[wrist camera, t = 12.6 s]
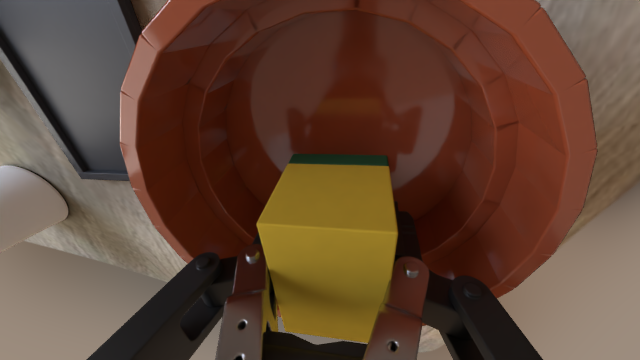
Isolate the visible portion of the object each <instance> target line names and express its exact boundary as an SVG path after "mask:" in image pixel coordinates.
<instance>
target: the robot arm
mask: <svg viewBox="0 0 640 360" xmlns="http://www.w3.org/2000/svg"><path fill="white" fill-rule="evenodd" d="M394 206H395V213H396V220H397V228H398V238H397V245H396V252H395V258H394V265H393V271H392V278H391V280H389V283H388V286H387V289H386V293H385V296H384V299H383V302H382V303H381V304H380V307H379V310H378V313H377V316H376V319H375V322H374V326H373V329H372V332H371V335H370V338H369V342H368V344H360V343H353V342H345V341H341V342H334V343H327V344H320V345H315V344H312V343H310V342H308V341H306V340H303V339H301V338H299V337H297V336H295V335H293V334H289V333H282V332H278V322H277V321H278V319H277V318H278V317H277V298H276V295H275V291H274V287H273V284H272V280H271V276H270V272H269V269H268V265H267V261H266V258H265V254H264V250H263V247H262V243H261V239H260V235H259V232H258V233H257V235H256V237H255V239H254V241H253V243H252V245H249V246H247V247H245V248H244V249H242V250H241V251H240V253H239V254H238V255H237V256H234V257H229V258H223V259H220V258H219V256H218V255H217V254H216V253H213V252H206V253H202V254H200V255H198V256H196V257H195V258H194V259H193V260H192V261H190V262H189V263H188V264H187V265H186V266H185V267H184V268H183V269H182V270H181V271H180V272H179V273H178V274H177V275H176V276H175V277H174V278H172V279H171V280H170V281H169V282H168V283H167V284H166V285H165V286H164V287H163V288H162V289H161V290H160V291H159V292H158V293H157V294H156V295H154V297H152V298H151V299H150V300H149V301H148V302H147V303H146V304H145V305H144V306H143V307H142V308H141V309H140V310H139V311H138V312H136V313H135V315H133V316H132V317H131V318H130V319H129V320H128V321H127V322H126V323H125V324H124V325H123V326H122V327H121V328H120V329H119V330H117V331H116V332H115V333H114V334H113V335H112V336H111V337H110V338H109V339H108V340H107V341H106V342H105V343H104V344H103V345H102V346H100V347H99V348H98V349H97V351H95V352H94V353H93V354H92V355H91V356H90V357H89V358H88V359H87V360H189V359H190V358H191V356H192V355H193V353H194V352H195V351H196V350H197V349H198V347H199V346H200V345H201V343H202V342H203V340H204V339H205V338H206V337H207V336H208V334H209V333H210V332H211V330H212V329H213V328H214V326H215V325H216V324H217V322H218V321H219V320H220V319H221V317H222V316H223V317H222V323H221V329H220V335H219V341H218V346H217V353H216V358H215V360H417V354H418V348H419V342H420V335H421V329H422V323H424V324H426V325H429V326H431V327H433V328H435V329H438V330H439V332H440V334H441V336H442V338H443V340H444V342H445V344H446V346H447V348H448V350H449V352H450V354H451V356H452V358H453V360H543V359H542V358H541V357H540V355H539V354H538V352H537V351H536V350H535V349H534V347H533V346H532V345H531V344H530V342H529V341H528V339H527V338H526V337H525V335H524V334H523V333H522V331H521V330H520V329H519V327H518V326H517V325H516V323H515V322H514V321H513V320H512V318H511V317H510V316H509V314H508V313H507V312H506V310H505V309H504V308H503V307H502V305H501V304H500V302H499V301H498V300H497V298H496V297H495V296H494V294H493V293H492V292H491V291H490V289H489V288H488V287H487V286H486V285H485V284H484V283H483V282H481V281H480V280H478V279H476V278H474V277H471V276H465V275H463V276H458V277H456V278H454V279H453V280H451V279H448V278H445V277H442V276H440V275H437V274H435V273H434V272H432V271H431V270H430V269H428V267H427V266H426V264H425V263H424V262H423V260H422V256H421V251H420V247H419V242H418V238H417V234H416V228H415V224H414V219H413V218H412V216H411V215H410V214H409V213H408V212H407V211H399V208H398V202H397V201H394ZM193 304H194V305H193ZM192 305H193V306H192ZM184 314H185V315H184Z"/></svg>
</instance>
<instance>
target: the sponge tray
mask: <svg viewBox="0 0 640 360" xmlns="http://www.w3.org/2000/svg"><path fill="white" fill-rule="evenodd" d="M141 32H142V30H141V28H140V25H139V23H138V20H137V17H136V15H135V12H134V9H133V7H132V4H131V2H130V0H0V59H1V61H2V62H3V64H4V65H5V67H6V68H7V70H8V71H9V72H10V74H11V75H12V77H13V78H14V80H15V81H16V83H17V84H18V86H19V87H20V89H21V90H22V92H23V93H24V95H25V96H26V98H27V99H28V101H29V102H30V104H31V105H32V106H33V108H34V109H35V111H36V112H37V114H38V115H39V117H40V118H41V120H42V121H43V123H44V124H45V126H46V127H47V129H48V130H49V132H50V133H51V135H52V136H53V138H54V139H55V140H56V142H57V143H58V145H59V146H60V148H61V149H62V151H63V152H64V154H65V155H66V157H67V158H68V160H69V161H70V163H71V164H72V166H73V167H74V169H75V170H76V172H77V173H78V174H79V176H80V177H81V179H97V180H121V181H130V179H129V176H128V172H127V169H126V165H125V162H124V158H123V155H122V151H121V147H120V91H121V86H122V83H123V80H124V77H125V75H126V72H127V69H128V66H129V63H130V60H131V58H132V55H133V52H134V49H135V46H136V44H137V41H138V38H139V35H140V34H142V33H141Z"/></svg>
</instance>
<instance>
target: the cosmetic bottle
mask: <svg viewBox="0 0 640 360" xmlns="http://www.w3.org/2000/svg"><path fill="white" fill-rule="evenodd" d="M67 216H68V207H67V204H66V202H65V200H64V199H63V197H62V196H61V195H60V193H59V192H58V191H57V190H56V189H55V188H54V187H53V186H52V185H50V184H49V183H48V182H47V181H45V180H44V179H43V178H41V177H39V176H38V175H36V174H34V173H32V172H30V171H28V170H26V169H23V168H20V167H16V166H1V167H0V253H1V252H3V251H5V250H7V249H8V248H10V247H12V246H14V245H16V244H17V243H19V242H21V241H23V240H25V239H27V238H29V237H31V236H33V235H34V234H36V233H38V232H40V231H42V230H44V229H46V228H48V227H50V226H53V225H55V224H57V223H59V222H61V221H63V220H64V219H66V217H67Z"/></svg>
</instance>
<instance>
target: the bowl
mask: <svg viewBox="0 0 640 360" xmlns="http://www.w3.org/2000/svg"><path fill="white" fill-rule="evenodd" d="M540 6H541V5H540V3H538V2H537V1H536V0H168V1H167V2H166V3H165V4H164V6H163V7H162V8H161V9H160V10H159V12H158V13H157V14H156V15H155V16H154V17H153V19H152V20H151V21H150V22H149V23H148V24H147V26H146V27H145V28H144V29H143V30H142V32H141V33H142V34H140V35H139V38H138V41H137V44H136V46H135V49H134V52H133V55H132V58H131V60H130V63H129V66H128V69H127V72H126V75H125V77H124V80H123V83H122V86H121V91H120V147H121V151H122V155H123V158H124V162H125V165H126V169H127V172H128V176H129V179H130V183H131V186H132V188H133V190H134V192H135V194H136V195H137V197H138V199H139V201H140V203H141V204H142V206H143V208H144V210H145V212H146V213H147V215H148V217H149V219H150V220H151V222H152V224H153V225H154V226H155V228H156V229H157V231H158V232H159V233H160V234H161V235H162V236H163V237H164V239H165V240H166V241H167V242H168V243H169V244H170V246H171V247H172V248H173V249H174V250H175V251H176V253H177V254H178V255H179V256H180V257H181V258H182V259H183V260H184V261H185V262H186V263H189V262H190V261H192V260H193V259H194V258H195V257H196V256H198V255H200V254H202V253H206V252H213V253H216V254H217V255H218V256H219V258H220V259H223V258H229V257H234V256H237V255H238V254H239V253H240V251H241V250H242V249H244V248H245V247H247V246H249V245H252V243H253V241H254V239H255V237H256V235H257V233H258V228H257V222H258V220H259V218H260V216H261V214H262V212H263V210H264V208H265V206H266V204H267V202H268V201H269V199H270V197H271V195H272V193H273V191H274V189H275V187H276V185H277V183H278V181H279V179H280V178H281V176H282V174H283V172H284V170H285V168H286V166H287V164H288V163H289V161H290V159H291V157H292V155H293V154H345V155H386V156H387V157H388V163H389V169H390V177H391V184H392V191H393V199H394V201H397V202H398V208H399V211H407V212H408V213H409V214H410V215H411V216H412V218H413V219H414V224H415V228H416V234H417V238H418V242H419V247H420V251H421V256H422V260H423V262H424V263H425V264H426V266H427V267H428V269H430V270H431V271H432V272H434V273H435V274H437V275H440V276H442V277H445V278H448V279H451V280H453V279H454V278H456V277H458V276H463V275H465V276H471V277H474V278H476V279H478V280H480V281H481V282H483V283H484V284H485V285H486V286H487V287H488V288H489V289H490V291H491V292H492V293H493V294H494V296H495V297H496V298H499V297H500V296H502V295H504V294H506V293H508V292H510V291H511V290H513V289H514V288H516V287H517V286H518V285H519V284H521V283H522V282H523V281H524V280H525V279H526V278H527V277H528V276H530V275H531V274H532V273H533V272H534V271H535V270H536V269H538V268H539V267H540V266H541V265H542V264H543V263H544V262H546V261H547V260H548V259H549V258H550V257H551V255H553V254H554V253H555V251H556V250H557V248H558V247H559V245H560V244H561V242H562V241H563V239H564V237H565V236H566V234H567V233H568V231H569V230H570V228H571V227H572V225H573V224H574V222H575V221H576V219H577V217H578V216H579V214H580V213H581V211H582V208H583V207H584V203H585V199H586V195H587V191H588V187H589V183H590V179H591V175H592V171H593V167H594V163H595V159H596V155H597V149H596V148H597V142H596V135H595V128H594V121H593V115H592V108H591V101H590V94H589V87H588V81H587V79H586V78H585V77H586V75H585V73H584V72H583V70H582V69H581V67H580V65H579V64H578V62H577V61H576V59H575V57H574V56H573V54H572V53H571V51H570V49H569V48H568V46H567V45H566V43H565V41H564V40H563V38H562V37H561V35H560V33H559V32H558V30H557V29H556V27H555V25H554V24H553V22H552V21H551V19H550V17H549V16H548V14H547V13H546V11H545V9H544V8H542V7H540ZM277 316H279V317H281V313H280V310H279V306H278V302H277ZM425 325H426V324H424V323H422V326H425Z"/></svg>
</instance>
